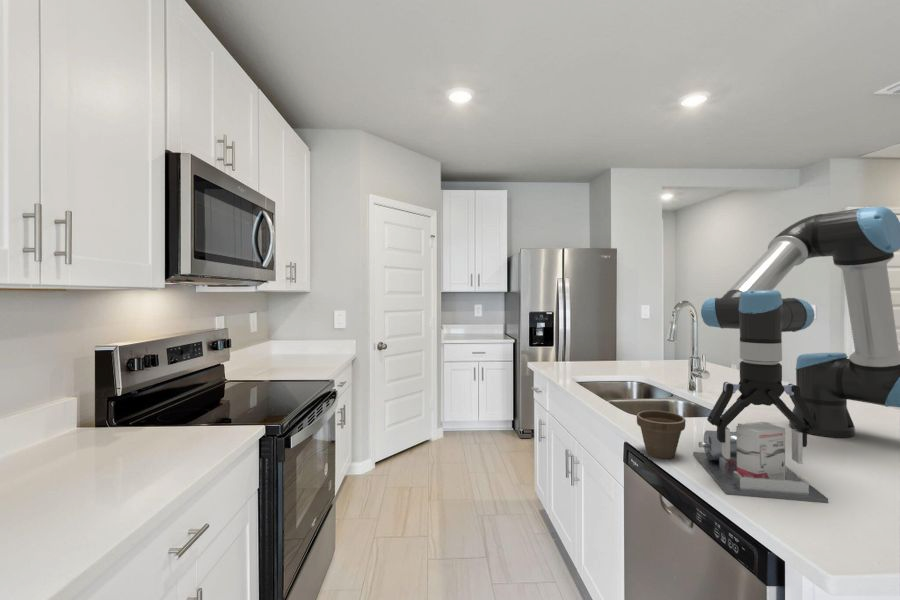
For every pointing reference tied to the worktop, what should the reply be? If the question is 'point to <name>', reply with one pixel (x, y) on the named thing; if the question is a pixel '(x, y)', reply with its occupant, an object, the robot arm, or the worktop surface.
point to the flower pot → (660, 432)
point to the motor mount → (748, 486)
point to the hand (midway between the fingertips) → (760, 459)
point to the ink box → (761, 450)
